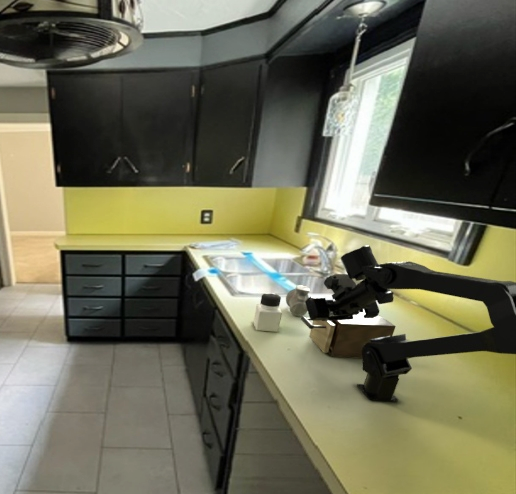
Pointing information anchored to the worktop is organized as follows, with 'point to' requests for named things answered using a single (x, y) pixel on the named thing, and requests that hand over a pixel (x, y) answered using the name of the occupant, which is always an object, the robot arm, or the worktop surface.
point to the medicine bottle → (268, 313)
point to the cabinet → (359, 334)
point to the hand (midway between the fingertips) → (322, 319)
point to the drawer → (322, 333)
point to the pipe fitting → (298, 300)
